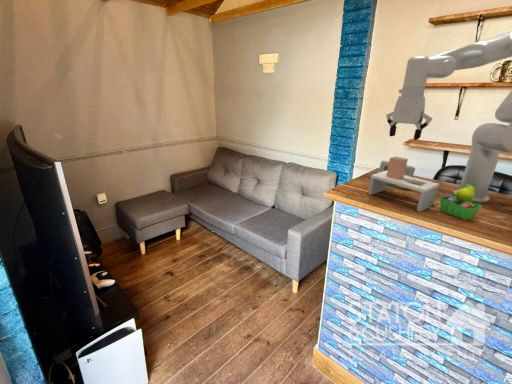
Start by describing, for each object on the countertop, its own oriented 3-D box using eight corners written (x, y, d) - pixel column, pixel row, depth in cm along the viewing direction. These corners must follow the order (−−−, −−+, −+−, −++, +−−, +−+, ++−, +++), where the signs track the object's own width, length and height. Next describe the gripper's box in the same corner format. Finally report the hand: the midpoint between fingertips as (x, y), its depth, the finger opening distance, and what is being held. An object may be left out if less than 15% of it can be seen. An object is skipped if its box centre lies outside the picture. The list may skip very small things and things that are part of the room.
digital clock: (372, 181, 138) (376, 161, 134) (384, 178, 142) (388, 158, 138) (402, 191, 125) (407, 169, 121) (414, 188, 129) (419, 166, 125)
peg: (391, 181, 120) (396, 156, 116) (402, 184, 116) (407, 158, 112) (384, 183, 117) (389, 158, 113) (396, 186, 113) (401, 160, 109)
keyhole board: (382, 188, 127) (386, 170, 124) (433, 204, 111) (439, 183, 108) (368, 194, 121) (371, 174, 118) (419, 211, 104) (425, 189, 101)
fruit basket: (435, 209, 107) (442, 182, 102) (449, 206, 110) (457, 179, 106) (466, 222, 97) (475, 192, 93) (480, 217, 100) (491, 189, 96)
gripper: (385, 92, 108) (378, 135, 114) (432, 93, 95) (421, 142, 101) (395, 92, 112) (388, 134, 118) (442, 93, 99) (430, 140, 105)
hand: (403, 137), depth 109 cm, fingers open, 9 cm apart
